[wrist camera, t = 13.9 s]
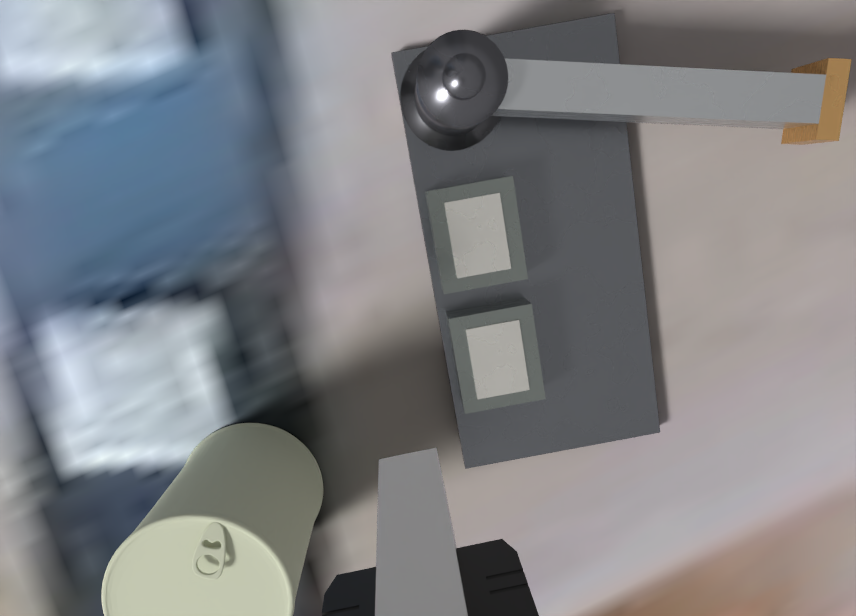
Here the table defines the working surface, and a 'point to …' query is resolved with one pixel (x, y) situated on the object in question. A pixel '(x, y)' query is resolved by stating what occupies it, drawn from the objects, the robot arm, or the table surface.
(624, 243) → the tray
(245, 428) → the can
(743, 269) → the table surface
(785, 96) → the swing arm
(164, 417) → the table surface
